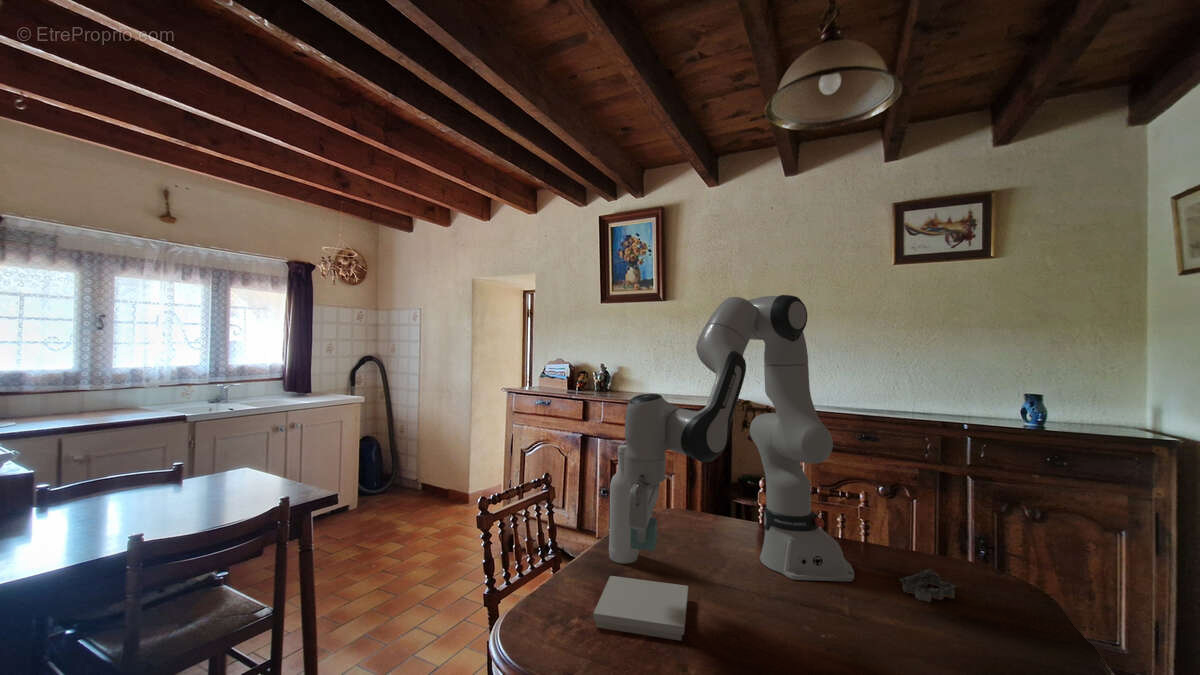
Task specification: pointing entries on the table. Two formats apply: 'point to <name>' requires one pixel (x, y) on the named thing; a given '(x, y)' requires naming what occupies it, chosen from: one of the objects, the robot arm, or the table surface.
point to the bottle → (620, 515)
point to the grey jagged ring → (922, 586)
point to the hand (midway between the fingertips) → (644, 535)
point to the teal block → (651, 537)
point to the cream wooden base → (643, 607)
